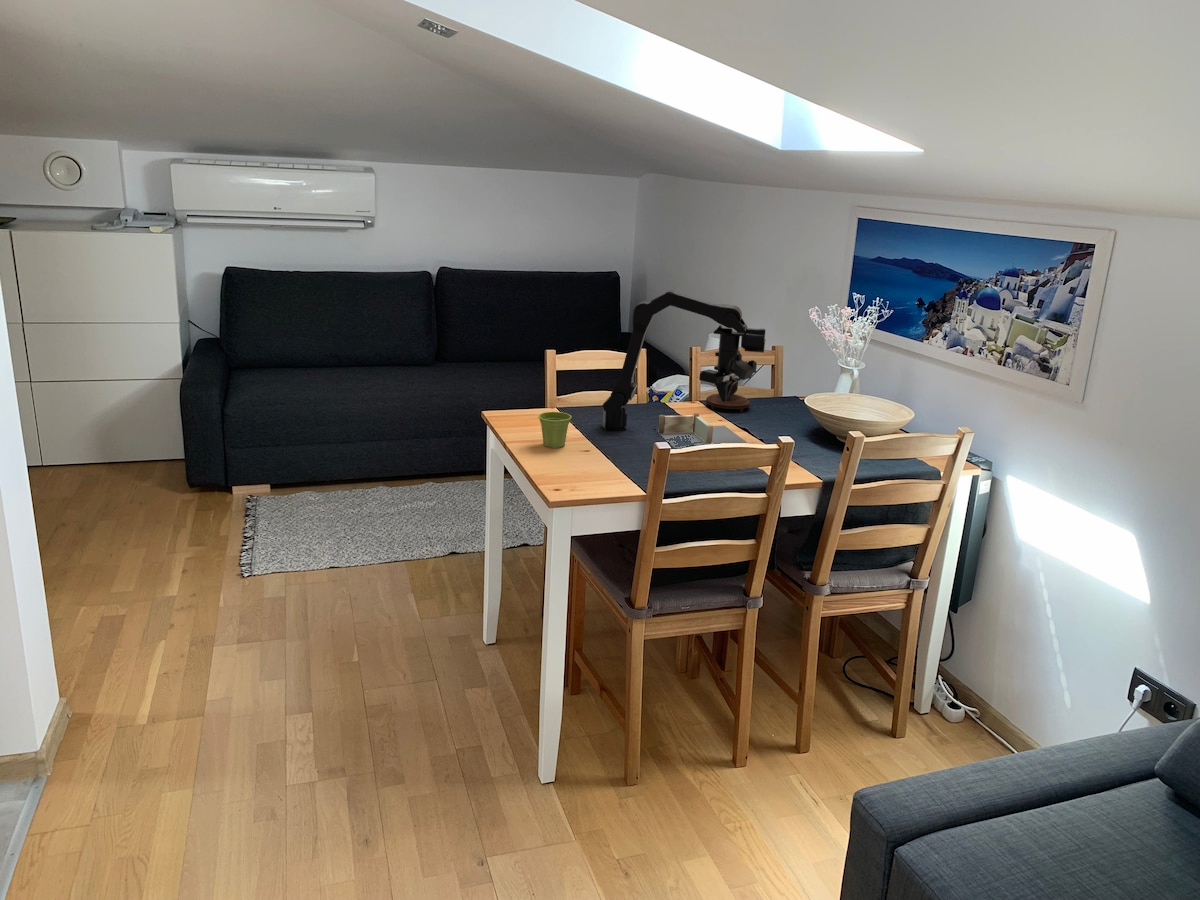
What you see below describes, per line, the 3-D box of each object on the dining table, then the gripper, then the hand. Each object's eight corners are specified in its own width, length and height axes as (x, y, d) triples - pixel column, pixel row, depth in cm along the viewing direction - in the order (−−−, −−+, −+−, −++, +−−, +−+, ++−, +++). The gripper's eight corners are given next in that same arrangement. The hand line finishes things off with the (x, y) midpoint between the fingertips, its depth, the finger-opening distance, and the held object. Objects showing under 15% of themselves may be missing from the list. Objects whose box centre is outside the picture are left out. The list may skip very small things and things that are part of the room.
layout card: (675, 449, 267) (675, 448, 267) (652, 428, 286) (652, 427, 286) (751, 446, 273) (751, 445, 273) (724, 426, 292) (724, 425, 292)
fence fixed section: (659, 433, 280) (660, 415, 278) (657, 432, 282) (658, 414, 280) (698, 432, 283) (699, 414, 282) (696, 430, 285) (697, 413, 283)
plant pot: (541, 450, 259) (542, 421, 256) (534, 440, 267) (535, 411, 265) (573, 449, 262) (575, 420, 259) (565, 439, 270) (566, 411, 267)
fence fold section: (693, 431, 282) (695, 415, 281) (698, 431, 283) (700, 415, 281) (707, 443, 272) (709, 426, 270) (712, 443, 272) (714, 426, 270)
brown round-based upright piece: (706, 400, 322) (711, 343, 316) (749, 404, 320) (755, 347, 314) (704, 411, 309) (709, 352, 302) (749, 415, 307) (755, 355, 300)
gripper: (731, 358, 258) (726, 412, 263) (770, 350, 271) (764, 402, 275) (700, 351, 265) (696, 404, 270) (739, 344, 278) (734, 394, 283)
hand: (724, 401), depth 274 cm, fingers closed
